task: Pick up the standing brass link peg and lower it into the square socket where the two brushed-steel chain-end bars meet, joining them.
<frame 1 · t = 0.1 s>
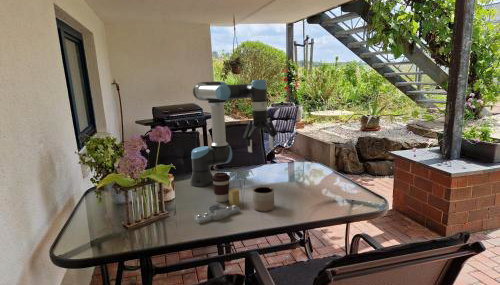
hand: (260, 150, 168), 28 cm above the table, fingers open, 13 cm apart
chain end a: (217, 216, 154), on the table
chain end b: (217, 216, 154), on the table
planter: (263, 208, 163), on the table
link peg: (234, 204, 168), on the table
coffee cup: (222, 200, 176), on the table
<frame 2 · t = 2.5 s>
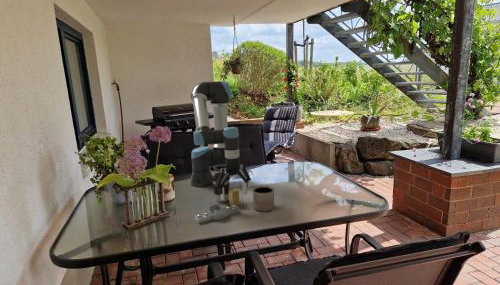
hand: (234, 196, 167), 4 cm above the table, fingers open, 13 cm apart
nothing on the table moved.
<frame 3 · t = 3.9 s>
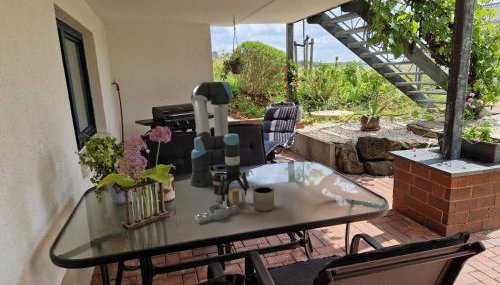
hand: (234, 204, 168), 0 cm above the table, fingers open, 11 cm apart
nothing on the table moved.
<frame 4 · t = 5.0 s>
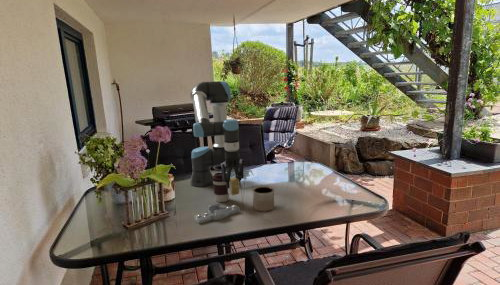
hand: (233, 192, 168), 6 cm above the table, fingers closed on link peg, 4 cm apart
link peg: (233, 193, 168), point 6 cm above the table, touching gripper
everything else where it was.
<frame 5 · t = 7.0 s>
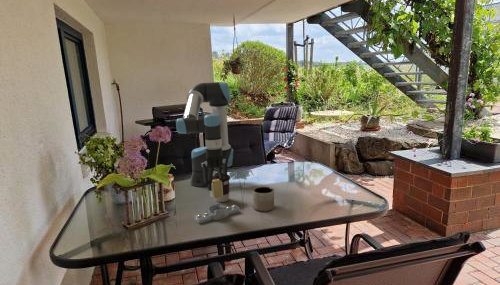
hand: (216, 195, 152), 10 cm above the table, fingers closed on link peg, 4 cm apart
link peg: (216, 196, 152), point 10 cm above the table, touching gripper
everything else where it was.
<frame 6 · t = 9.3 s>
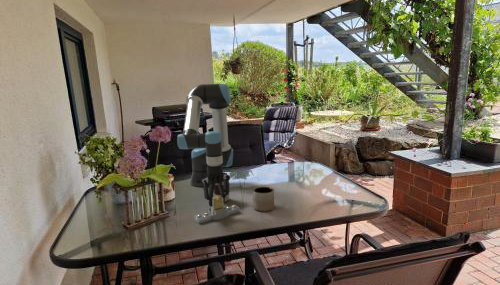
hand: (217, 210, 154), 3 cm above the table, fingers open, 4 cm apart
link peg: (217, 212, 154), point 2 cm above the table
everything else where it was.
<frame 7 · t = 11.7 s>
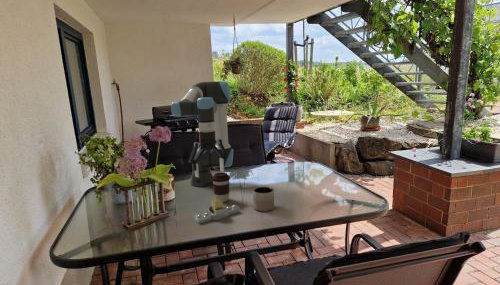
hand: (209, 174, 154), 20 cm above the table, fingers open, 13 cm apart
link peg: (217, 216, 154), on the table
everything else where it was.
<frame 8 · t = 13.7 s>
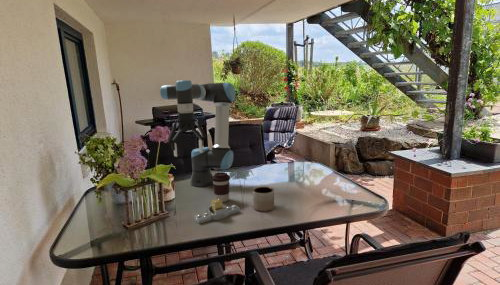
hand: (188, 154, 160), 29 cm above the table, fingers open, 13 cm apart
nothing on the table moved.
at the end: link peg 0.0 cm off-centre on the chain end b, point 0.0 cm above the chain end b's base; the gripper is holding nothing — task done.
